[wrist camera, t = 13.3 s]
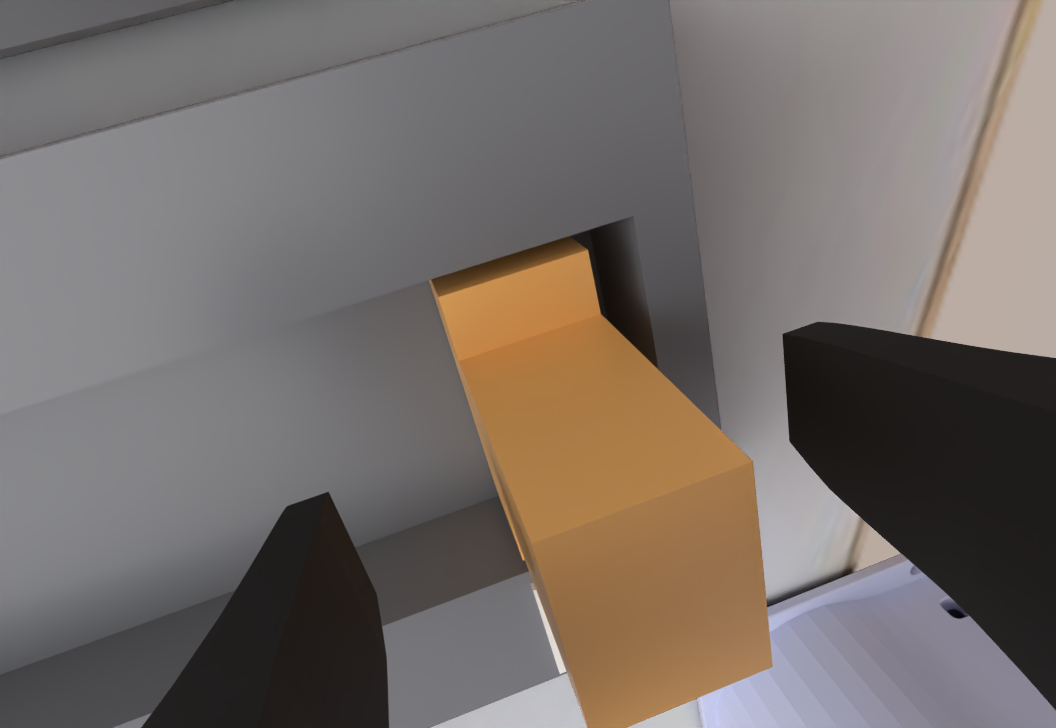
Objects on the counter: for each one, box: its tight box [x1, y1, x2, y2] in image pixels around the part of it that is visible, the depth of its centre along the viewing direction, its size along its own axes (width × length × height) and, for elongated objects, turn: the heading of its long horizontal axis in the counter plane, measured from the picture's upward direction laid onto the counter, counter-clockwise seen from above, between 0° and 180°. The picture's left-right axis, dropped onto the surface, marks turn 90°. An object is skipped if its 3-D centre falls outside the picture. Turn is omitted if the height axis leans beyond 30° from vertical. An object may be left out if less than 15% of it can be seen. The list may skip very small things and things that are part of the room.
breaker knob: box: [429, 236, 773, 728], centre depth 10 cm, size 2×5×7 cm, turn 13°
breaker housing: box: [0, 0, 721, 728], centre depth 12 cm, size 21×17×5 cm
